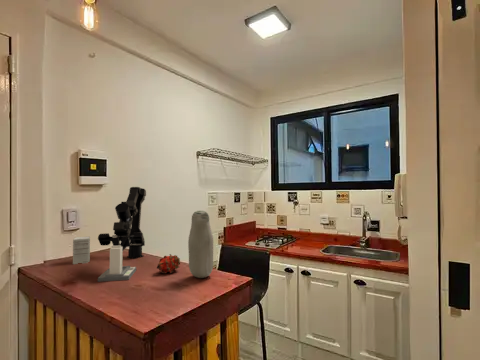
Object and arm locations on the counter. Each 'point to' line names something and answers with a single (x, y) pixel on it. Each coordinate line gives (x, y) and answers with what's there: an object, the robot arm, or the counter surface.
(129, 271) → the docking station
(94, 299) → the counter surface
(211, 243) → the grey bottle
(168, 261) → the dragon fruit
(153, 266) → the counter surface
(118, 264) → the cream tall block
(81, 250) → the grey ridged block
